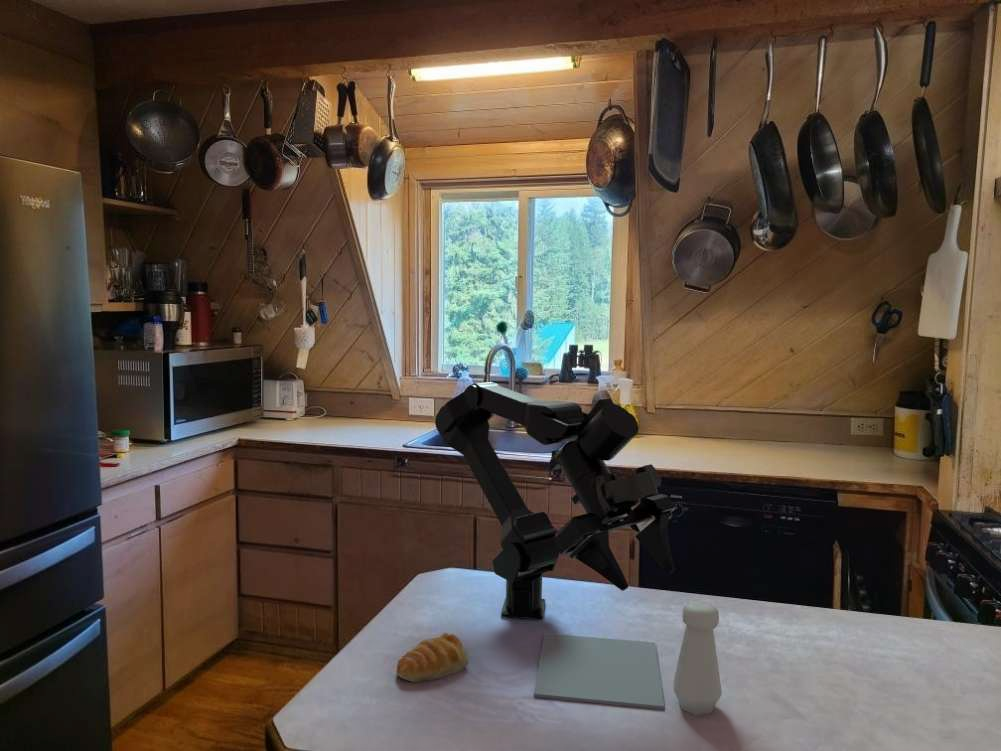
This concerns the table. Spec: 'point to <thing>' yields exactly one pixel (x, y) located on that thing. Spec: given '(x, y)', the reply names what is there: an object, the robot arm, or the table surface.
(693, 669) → the salt shaker
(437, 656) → the pastry
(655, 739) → the table surface
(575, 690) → the slate mat
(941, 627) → the table surface
